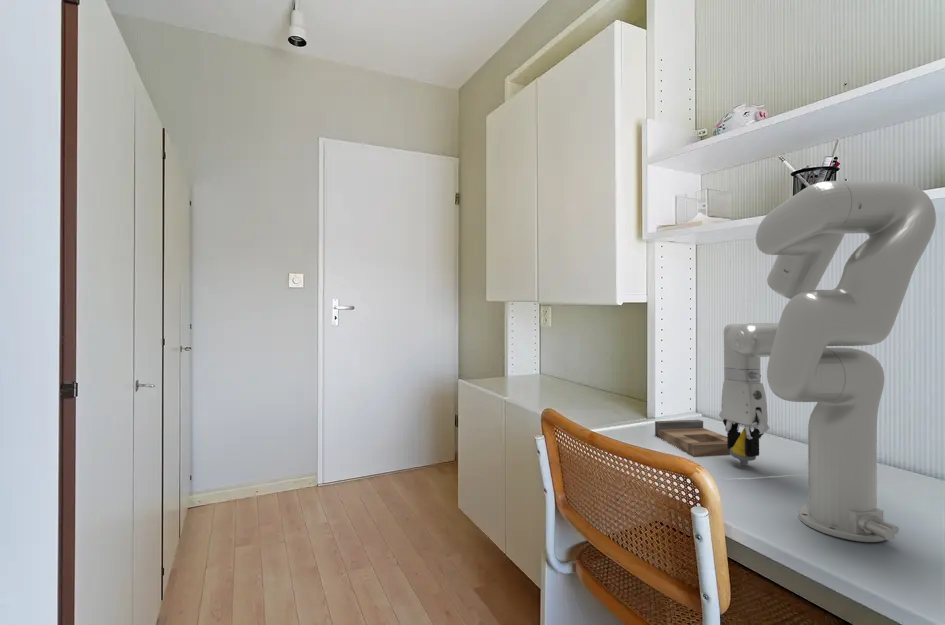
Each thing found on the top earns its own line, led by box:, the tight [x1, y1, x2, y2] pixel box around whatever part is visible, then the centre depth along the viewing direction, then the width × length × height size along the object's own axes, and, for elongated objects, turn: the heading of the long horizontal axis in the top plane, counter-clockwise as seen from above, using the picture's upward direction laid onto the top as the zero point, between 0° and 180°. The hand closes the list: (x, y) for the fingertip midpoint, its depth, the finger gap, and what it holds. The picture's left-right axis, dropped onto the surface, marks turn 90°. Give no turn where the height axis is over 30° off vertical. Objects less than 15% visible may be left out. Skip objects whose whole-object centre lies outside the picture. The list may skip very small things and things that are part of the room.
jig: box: [654, 419, 732, 458], centre depth 127 cm, size 18×14×5 cm
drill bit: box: [730, 427, 757, 467], centre depth 109 cm, size 5×5×10 cm
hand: (742, 451), depth 110 cm, fingers open, 5 cm apart
